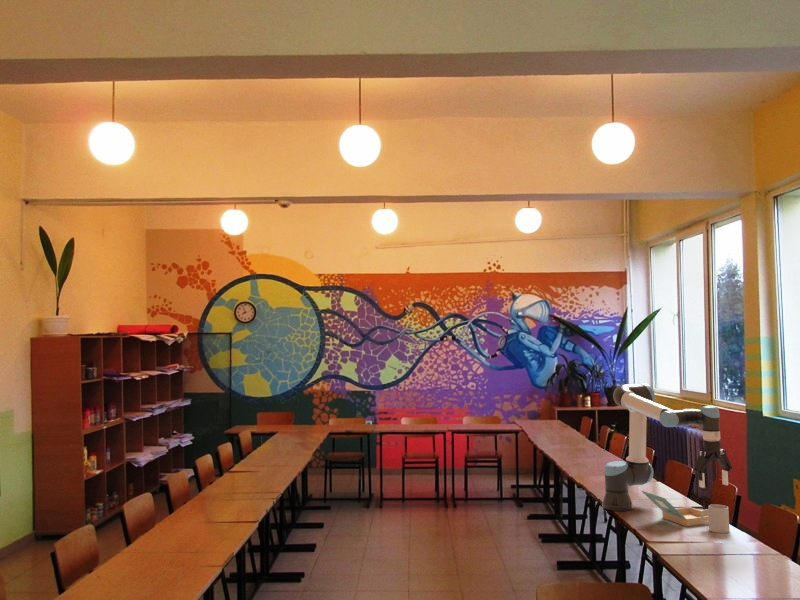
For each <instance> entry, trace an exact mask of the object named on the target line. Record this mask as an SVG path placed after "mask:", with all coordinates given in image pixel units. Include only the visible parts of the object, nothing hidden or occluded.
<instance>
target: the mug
mask: <svg viewBox="0 0 800 600" xmlns="http://www.w3.org/2000/svg"><path fill="white" fill-rule="evenodd" d="M701 511H702V512H701V520H702V523H704V525H707V526H708V529H709V531H710V532H712V533H716V534H728V533H729V532H730V517H729V516H730V513H729V506H727V505H723V504H715V503H714V504H712V503H711V504H709V505H708V508H706V509H702V510H701ZM704 513H709V521H704V519H703V515H704Z"/></svg>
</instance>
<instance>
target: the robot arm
mask: <svg viewBox="0 0 800 600" xmlns="http://www.w3.org/2000/svg"><path fill="white" fill-rule="evenodd" d="M612 397H613V401H614V403H615V404H616V405H618V406H619V407H621V408H623V409H626V410H627V411H629V425H628V426H629V436H628V439H629V440H628V447H629V448H628V456H626V458H625V461H624V460H623V461H622V460H615V461H609V462H607V463H606V464H605V466H604V472H603V473H604V488H605V489H604V495H603V500H602V502H601V506H602V508H603V509H604V510H608V511H614V512H628V511H631V510H633V502H632V500H631V496H630V494H629V487H633V486H634V487H635V486H643V485H646V484H649V483H650V482H652V479H653V478H654V468H653V466H652V464H651V463H650V460H649V459H648V458H647V419H648V418H647V417H649V418H652V419H654V420H656V421H659V423H660V424H662V426H663V427H666V428H674V427H684V426H686V427H687V426H701V427H702V429H701V430H702V439H703V440H702V446H703V447H702V448H703V449H704V450H703V451H701V450H699V451H698V456H697V460H696V463H695V465H694V468H693V472H695V473H697V481H698V484H699V485H698V487H699V488H702V489H706V483H705V473H704V471H705V469H706V468H707V466H708V464H709V463H711V461H713V462H714V461H716V462H717V463H718V464H719V466H720V467H721V468H722V470H721V479H722V482H721V483H722V485H724V486H729V477H730V475H729V472H731V470H732V469H733V466H732V464H731V461H730V459H729V457H728V455H727V451H726V449H723V448H722V443H721V427H720V426H721V422H720V420H721V418H720V417H721V415H720V409H719V407H718V406H714V405H713V406H712V405H704V406H702V407H701V409H698V408H691V407H690V408H688V407H687V408H683V409H677V410H676V409H675V410H674V409H672V408H669V407H667V406H665V405H663V404H660V403H657V402H655V401H656V395H655V391H654V389H653V388H652V387H651V385H649V384H648V383H641V382H637V383H625V384H620V385H618V386H617V387H616V388H614V390H613V394H612Z"/></svg>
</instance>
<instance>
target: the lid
mask: <svg viewBox="0 0 800 600" xmlns="http://www.w3.org/2000/svg"><path fill="white" fill-rule="evenodd" d="M641 493H642V494H643V495H645V496H646V497H647V498H648V499H649V501H651V502H652V503H653V504H655V505H656V506H657V508H659V509H660V510H661V512H662V511H664V512H667V513H670V514H672V515H675V516H678V517H681V518H684V519H685V517H684V516H683V515H682V514H681V513H680V512H679V511H678V510H677V509H678V508H676V507H674V506H673V505H672V504H671V503H670V501H668V500H667V499H666V498H665V497H662V496H660V495H656V494H653V493H650V492H648V491H644V490H642V491H641Z"/></svg>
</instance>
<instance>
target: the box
mask: <svg viewBox="0 0 800 600" xmlns="http://www.w3.org/2000/svg"><path fill="white" fill-rule="evenodd" d="M676 509H677V510H678V511H679V512H680V513H681V514H682V515H683V516H684V517H685V519H684V518H681V517H678V516H675V515H672V514H670V513H667V512H664V511H662V510H661V512H662V513H661V514H662V518H663V519H665V520H668V521H671V522H673V523H676V524H679V525H682V526H684V527H687V528H689V527H695V526H703V525H705V524H704V523H702V520H701V512H702V511H703V510H700V509H698V508H695V507H691V506H688V507H687V506H686V507H679V508H676ZM703 519H704V521H709V513H704V515H703Z"/></svg>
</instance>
